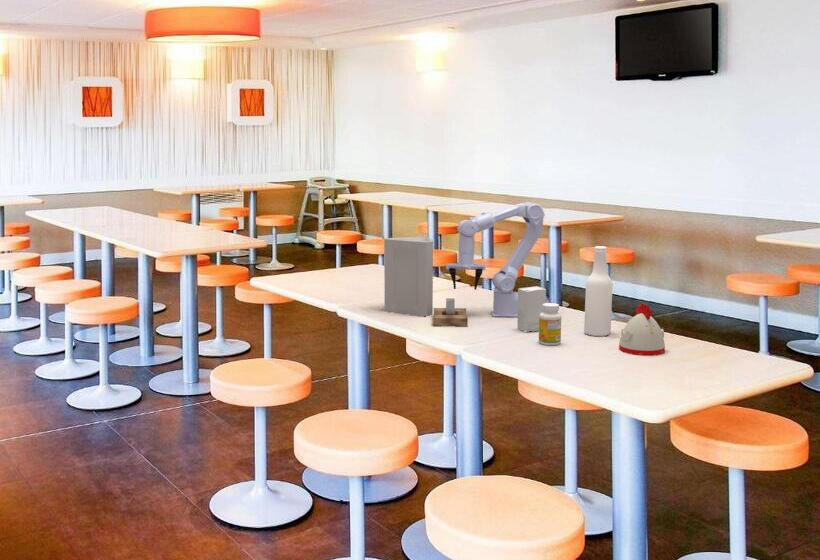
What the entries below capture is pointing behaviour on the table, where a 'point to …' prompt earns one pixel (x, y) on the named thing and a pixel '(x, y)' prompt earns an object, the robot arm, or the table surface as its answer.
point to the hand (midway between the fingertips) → (465, 288)
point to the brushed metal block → (450, 306)
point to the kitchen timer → (642, 334)
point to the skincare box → (530, 307)
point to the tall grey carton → (409, 275)
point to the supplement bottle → (550, 325)
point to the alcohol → (598, 297)
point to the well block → (450, 317)
